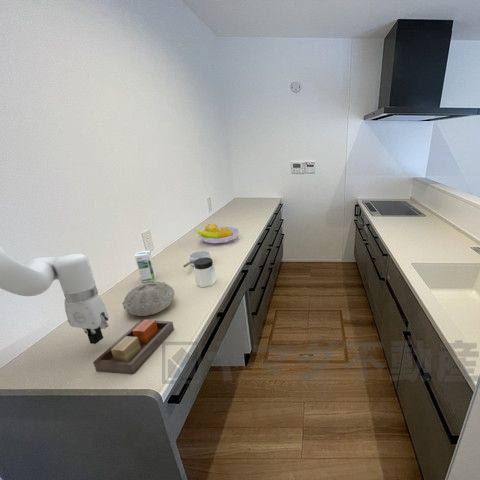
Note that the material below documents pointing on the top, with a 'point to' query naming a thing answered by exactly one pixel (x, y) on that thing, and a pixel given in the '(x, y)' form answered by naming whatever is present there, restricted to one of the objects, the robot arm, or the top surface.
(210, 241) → the fruit bowl
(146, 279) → the syrup box
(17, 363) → the top surface
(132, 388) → the top surface
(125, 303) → the grey rounded stone
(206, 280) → the jar
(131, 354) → the soap bar tray
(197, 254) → the saucepan
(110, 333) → the top surface
